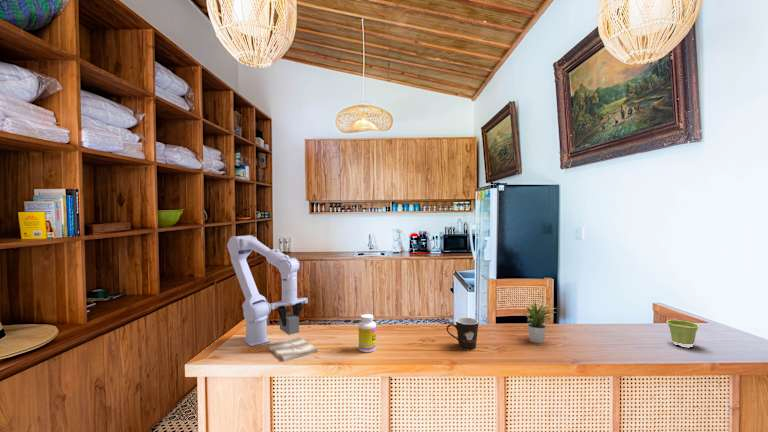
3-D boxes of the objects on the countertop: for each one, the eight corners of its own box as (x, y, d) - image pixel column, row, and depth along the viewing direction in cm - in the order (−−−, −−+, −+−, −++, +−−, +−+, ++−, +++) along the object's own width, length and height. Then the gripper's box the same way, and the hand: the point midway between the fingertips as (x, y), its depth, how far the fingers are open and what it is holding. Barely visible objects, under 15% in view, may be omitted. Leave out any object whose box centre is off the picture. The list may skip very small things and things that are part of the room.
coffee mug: (480, 344, 134) (480, 319, 134) (476, 352, 126) (476, 325, 126) (451, 340, 139) (451, 315, 139) (445, 347, 131) (445, 321, 131)
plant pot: (672, 348, 129) (672, 325, 129) (662, 339, 138) (662, 318, 137) (704, 352, 125) (704, 328, 125) (692, 343, 134) (692, 321, 134)
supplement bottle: (373, 353, 126) (373, 318, 126) (356, 352, 127) (356, 317, 127) (377, 346, 132) (377, 313, 132) (361, 345, 133) (361, 312, 133)
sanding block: (279, 329, 135) (279, 314, 135) (289, 327, 137) (289, 312, 137) (289, 335, 128) (289, 319, 128) (299, 333, 130) (299, 317, 130)
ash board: (267, 347, 132) (267, 344, 132) (299, 339, 140) (299, 336, 140) (283, 361, 119) (283, 357, 119) (317, 351, 127) (317, 348, 127)
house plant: (546, 351, 126) (546, 308, 126) (511, 341, 137) (511, 301, 137) (562, 342, 136) (561, 301, 136) (528, 333, 146) (528, 295, 146)
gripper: (275, 294, 124) (275, 331, 124) (311, 288, 134) (311, 323, 134) (268, 290, 130) (268, 326, 130) (303, 285, 139) (303, 318, 139)
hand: (289, 324), depth 132 cm, fingers closed on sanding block, 4 cm apart
